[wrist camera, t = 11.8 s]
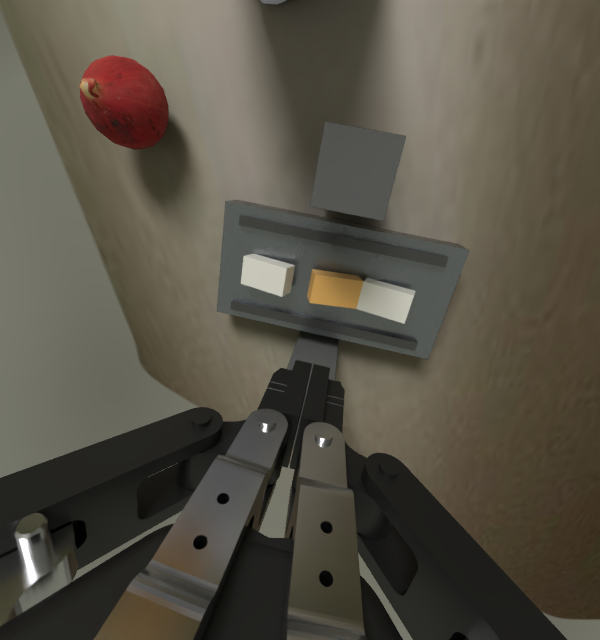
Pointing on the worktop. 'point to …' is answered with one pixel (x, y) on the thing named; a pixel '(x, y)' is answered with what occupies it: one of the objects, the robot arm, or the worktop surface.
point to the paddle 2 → (385, 300)
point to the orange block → (334, 289)
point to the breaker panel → (341, 257)
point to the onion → (124, 102)
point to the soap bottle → (272, 1)
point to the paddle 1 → (267, 274)
